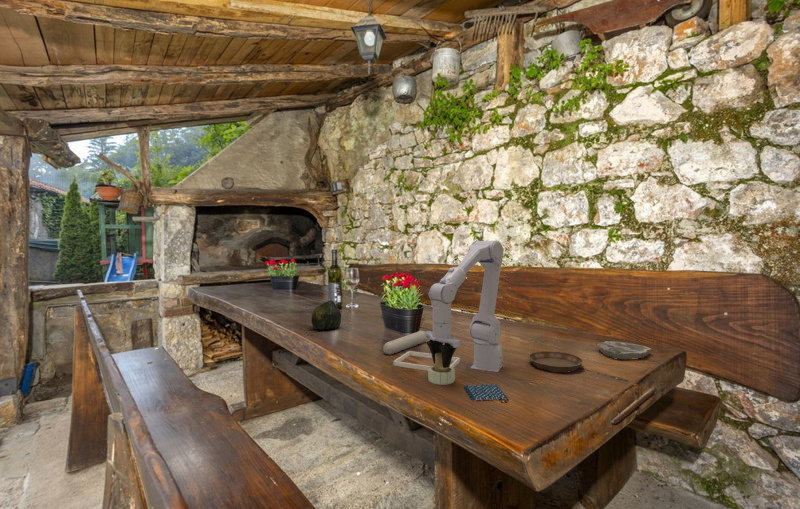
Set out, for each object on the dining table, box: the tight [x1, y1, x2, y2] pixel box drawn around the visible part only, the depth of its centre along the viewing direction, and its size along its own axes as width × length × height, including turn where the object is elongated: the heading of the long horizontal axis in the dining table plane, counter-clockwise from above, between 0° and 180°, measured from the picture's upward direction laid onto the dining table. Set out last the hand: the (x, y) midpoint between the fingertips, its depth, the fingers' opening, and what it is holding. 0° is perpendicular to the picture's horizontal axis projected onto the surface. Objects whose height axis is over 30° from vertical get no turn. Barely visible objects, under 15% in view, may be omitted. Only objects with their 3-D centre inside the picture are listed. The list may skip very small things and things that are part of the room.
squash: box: [311, 300, 342, 331], centre depth 193 cm, size 14×15×15 cm
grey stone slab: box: [595, 340, 652, 360], centre depth 151 cm, size 20×17×3 cm
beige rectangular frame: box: [392, 350, 461, 372], centre depth 137 cm, size 20×14×2 cm
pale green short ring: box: [427, 364, 456, 386], centre depth 121 cm, size 8×8×4 cm
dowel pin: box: [434, 353, 448, 372], centre depth 121 cm, size 4×4×8 cm
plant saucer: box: [528, 350, 584, 373], centre depth 137 cm, size 18×18×3 cm
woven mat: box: [463, 384, 510, 404], centre depth 110 cm, size 10×11×2 cm
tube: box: [382, 329, 428, 356], centre depth 159 cm, size 5×5×25 cm
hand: (441, 365), depth 121 cm, fingers closed on dowel pin, 4 cm apart
